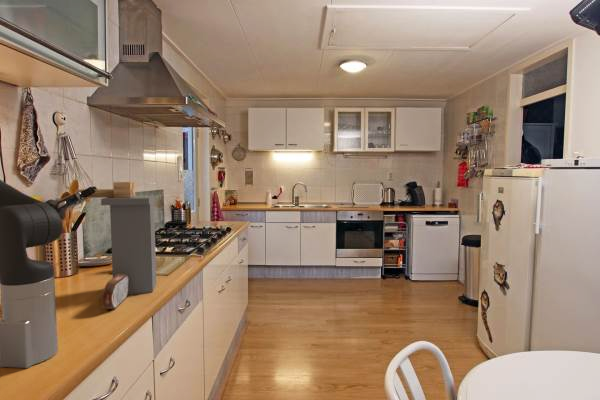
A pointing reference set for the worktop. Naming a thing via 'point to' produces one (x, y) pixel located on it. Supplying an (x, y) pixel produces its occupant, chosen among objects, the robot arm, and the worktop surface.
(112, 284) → the tin
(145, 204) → the stand
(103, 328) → the worktop surface
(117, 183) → the brown wooden block
